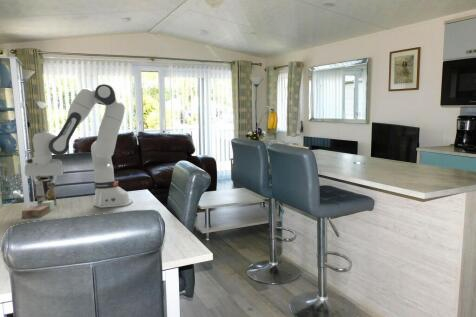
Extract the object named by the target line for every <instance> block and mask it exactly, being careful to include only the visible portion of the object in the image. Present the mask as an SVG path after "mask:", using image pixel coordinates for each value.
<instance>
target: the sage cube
mask: <svg viewBox="0 0 476 317" xmlns="http://www.w3.org/2000/svg"><path fill="white" fill-rule="evenodd" d="M41 206H49V210H50V212H51V211H53V210H55V205H54V200H51V201H44V202H42V203H41Z"/></svg>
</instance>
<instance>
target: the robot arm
mask: <svg viewBox="0 0 476 317" xmlns="http://www.w3.org/2000/svg"><path fill="white" fill-rule="evenodd" d="M96 104H98V105H103V106H105V109H104V110H105V111H104V114H103V116H102V118H101V121H100V124H99V127H98V132H97V133H98V134H97V137H96V140H95V141H94V142H92V144H91V145H90V146H91V147H90V152H91V153H90V154H91V160H92V165H93V175H94V176H93V177H94V186H93V187H94V188H93V189H94V192H95V193H94V196H95V197H94V202H93V203H94V204H93V206H95V207H98V208H101V209H102V208H113V207H124V206H125V207H126V206H130V205H131V204H132V203H133V198H130V197H129V194H128V192H127V191H126V190H125V189H123V188H122V187H120V186H119V181H118V180H115V174H114V171H115V170H114V165H113V161H112V156H114V153H115V149H116V144H117V140H118V135H119V132H120V128H121V126H122V123H123V120H124V115H125V110H126V107H125V105H124V103H122V102H121V101H119V100H118V99H116V92H115V90H114V88H113V87H112V86H111V85H110V84H108V83H102V84H99V85H97V86H96V87H95V90H93V89H91V88H85V87H83V88H82V89H81V90H80V91H79V92H78V93H77V94H76V95H75V97H74V99H73V100H72V102H71V104H70V106H69V109H68V112H67V116H66V121H65V123H64V125H63V126H62V128H61V130H60V131H59V133H58V134H57V135H56V134H54V133H51V132H50V131H49V130H43V131H39V132H38V131H37V132H36V133H35V134H34V135H33V140H32V141H33V150H34V153H33V155H34V156H32V157H30V158H28V159H25V165H24V175H25V176H26V177H31V178H32V181H34V184H35V185H36V184H38V183H39V182H38V181H39V180H38V179H37V177H40V176H41V177H43V176H45V177H46V176H52V179H53V180H51V183H56V180H57V177H58V176H62V175H63V174H64V169H63V161H62V160H61V159H54V158H53V155H55V156H62V155H65V154H66V153H67V152H68V150H69V149H70V141H71V138H72V137H73V134H74V133H75V131H76V130H77V128H78V126H79V125H80V124H81V123H82V122H83V121H84V120H86V119H87V117H88V116H89V115H90V113H91V111H92V110H93V109H94V107H95V105H96Z"/></svg>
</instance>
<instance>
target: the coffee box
mask: <svg viewBox="0 0 476 317" xmlns="http://www.w3.org/2000/svg"><path fill="white" fill-rule="evenodd" d="M53 179H54V178H45V179H41V180H38V182H39V183H38V184H35V191H36V202H37V203H36V204H37V205H36V206H41V203H42V202H44V201H51V200H54V206H56V205H57V195H56V194H57V193H56V184H55V183H56V182H55V183H51V180H53ZM55 204H56V205H55Z"/></svg>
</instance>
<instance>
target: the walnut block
mask: <svg viewBox="0 0 476 317" xmlns="http://www.w3.org/2000/svg"><path fill="white" fill-rule="evenodd" d="M50 212H51V211H50V210H49V206H38V205H32V206H29V207H27V208H25V209H23V210H21V217H22V218H40V217H41V218H42V217H43V216H45V215H46V214H48V213H50Z"/></svg>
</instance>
